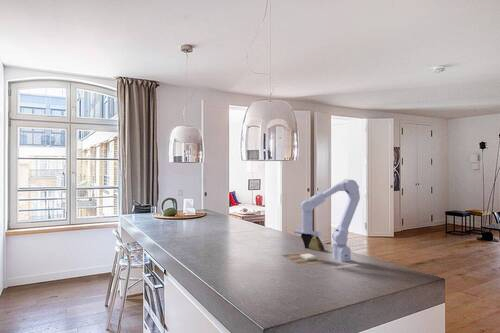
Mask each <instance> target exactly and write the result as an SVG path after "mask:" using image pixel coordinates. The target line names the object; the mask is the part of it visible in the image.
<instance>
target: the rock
mask: <svg viewBox="0 0 500 333" xmlns="http://www.w3.org/2000/svg"><path fill="white" fill-rule="evenodd" d="M324 246H325V245H324V244H323V242H322V240H321V239H320V236H314V235H313V237H312V239H311V241H310V244H309V248H308V249H309V250H315V251H319V252H320V251H325V250H326V249H325V247H324Z"/></svg>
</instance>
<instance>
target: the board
mask: <svg viewBox="0 0 500 333" xmlns="http://www.w3.org/2000/svg"><path fill="white" fill-rule="evenodd" d="M301 254H309V252H306V251H304V252H296V253H287V254H286V253H285V254H281V256H282V257H284V258H286V259H288V260H290V261H292V262H294V263H295V264H298V265H300V266H309V265H318V264H326V263H327V264H328V263H329V261H327V260H324V259H322V258H319V257H317V256H316V257H317V260H311V261H306V260H304V259H302V258H300V255H301Z"/></svg>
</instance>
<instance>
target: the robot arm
mask: <svg viewBox="0 0 500 333" xmlns="http://www.w3.org/2000/svg"><path fill="white" fill-rule="evenodd" d="M359 188H360V186H359V184H358V183H357V181H356V180H354V179H348V178H346V179H343V180H341V181H339V182H337V183H336V184H334V185H332V186H331V187H330V188H328V189H326V190H325V191H323V192H315V193H314V195H313V196H311V197H308V198H307V200H306V199H305V200H303V201H302V202H301V205H300V207H301V229H294V230H293V234H295V235H296V234H297V235H299V234H300V238H301V240H302V242H303V245H304V249H306V250H308V249H309V244H310V241H311V239H312V238H313V237H314V236H318V237H320V236H321V232H320V231H316V230H313V210H314V208H317V207H318V206H320V205H322V204H323V203H325V202H326V199H327V198H329V197H330V196H333V195H334V194H336V193H337V192H345V193H346V194H347V196H348V200H347V204H346V206H345V208H344V212H343V213H342V216H341V219H340V222H339V224H338V225H337V226H336V228H335V230H334V231H333V232H332V234H331V238H332V240H333V242H332V260H336V261H337V262H342V263H343V262H351V259H352V258H351V256H352V254H351V252H352V251H351V249H350V247H349V246H348V244H347V243H348V239H349V238H348V236H349V227H350V225H351V222H352V220H353V217H354V215H355V212H356V210H357V207H358V205H359V202H360V199H361V196H360V195H361V194H360V189H359Z"/></svg>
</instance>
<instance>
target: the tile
mask: <svg viewBox="0 0 500 333" xmlns="http://www.w3.org/2000/svg"><path fill="white" fill-rule="evenodd" d="M300 258H302V259H304V260H306V261H311V260H317V256H316V255H314V254H311V253H308V254H301V255H300Z"/></svg>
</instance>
